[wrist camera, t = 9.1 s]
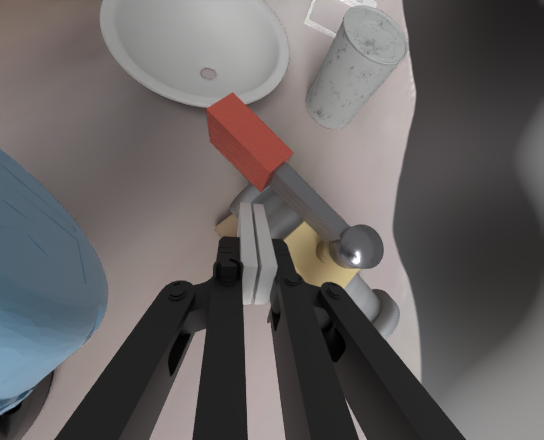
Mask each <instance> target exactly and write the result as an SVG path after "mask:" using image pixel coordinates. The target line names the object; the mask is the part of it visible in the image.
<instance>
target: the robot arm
mask: <svg viewBox="0 0 544 440" xmlns="http://www.w3.org/2000/svg"><path fill="white" fill-rule="evenodd" d="M253 294H254V304H268V303H269V299H270V302H271V308H270V311H269V315H268V319H267V323H269V322H270V321H271V329H272V337H273V344H274V352H275V360H276V368H277V376H278V383H279V391H280V399H281V407H282V414H283V422H284V430H285V438H286V440H359V438H358V435H357V432H356V429H355V426H354V423H353V421H352V418H351V415H350V412H349V409H348V406H347V403H346V400H347V402H348V404H349V406H350V408H351V410H352V412H353V414H354V416H355V417H356V419H357V421H358V423H359V425H360V427H361V429H362V431H363V433H364V434H365V436H366V438H367V440H466V439H465V438H464V437H463V435H462V434H461V433H460V432H459V430H458V429H457V428H456V427H455V425H454V424H453V423H452V422H451V420H450V419H449V418H448V417H447V416H446V414H445V413H444V412H443V411H442V409H441V408H440V407H439V406H438V404H437V403H436V402H435V401H434V400H433V399H432V397H431V396H430V395H429V394H428V392H427V391H426V390H425V388H424V387H423V386H422V385H421V383H420V382H419V381H418V380H417V378H416V377H415V376H414V375H413V374H412V372H411V371H410V370H409V369H408V367H407V366H406V365H405V364H404V362H403V361H402V360H401V359H400V358H399V356H398V355H397V354H396V353H395V351H394V350H393V349H392V348H391V346H390V345H389V344H388V343H387V341H386V340H385V339H384V338H383V337H382V335H381V334H380V333H379V332H378V330H377V329H376V328H375V327H374V325H373V324H372V323H371V322H370V320H369V319H368V318H367V317H366V316H365V314H364V313H363V312H362V311H361V309H360V308H359V307H358V306H357V304H356V303H355V302H354V301H353V300H352V298H351V297H350V296H349V295H348V293H347V292H346V291H345V290H344V289H343V288H342V287H341V286H340V285H338V284H336V283H333V282H325V283H323V284H322V285H321V287H319V286H315V285H312V284H309V283H306V282H305V281H304V279H303V278H302V276H300V275H299V274H298V273H296V270H295V267H294V264H293V261H292V258H291V256H290V252H289V249H288V246H287V244H286V243H285V241H284V240H283V239H272V238H271V236H270V232H269V227H268V223H267V219H266V214H265V210H264V206H263V204H253V209H252V210H251V203H242V202H240V211H239V221H238V230H237V237H229V236H223V237H222V238H221V240H220V241H219V246H218V253H217V260H216V262H215V264H214V266H213V276H212V278H211V279H209V280H208V281H206V282H204V283H201V284H197V285H192V284H191V283H190V282H187V281H175V282H172V283H170V284H168V285H166V286H165V287H164V288H163V289H162V290H161V292H160V293H159V294H158V296H157V297H156V299H155V300H154V301H153V303H152V304H151V306H150V307H149V308H148V310H147V311H146V312H145V314H144V315H143V317H142V318H141V319H140V321H139V322H138V324H137V325H136V326H135V328H134V329H133V331H132V332H131V333H130V335H129V336H128V338H127V339H126V340H125V342H124V343H123V345H122V346H121V347H120V349H119V350H118V352H117V353H116V354H115V356H114V357H113V359H112V360H111V361H110V363H109V364H108V365H107V367H106V368H105V370H104V371H103V372H102V374H101V375H100V377H99V378H98V379H97V381H96V382H95V384H94V385H93V386H92V388H91V389H90V391H89V392H88V393H87V395H86V396H85V398H84V399H83V400H82V402H81V403H80V405H79V406H78V407H77V409H76V410H75V411H74V413H73V414H72V416H71V417H70V418H69V420H68V421H67V423H66V424H65V425H64V427H63V428H62V430H61V431H60V432H59V434H58V435H57V437H56V438H55V439H54V440H149V438H150V436H151V434H152V431H153V429H154V427H155V424H156V422H157V420H158V417H159V415H160V413H161V410H162V408H163V406H164V403H165V401H166V399H167V396H168V394H169V392H170V389H171V387H172V385H173V382H174V380H175V378H176V375H177V373H178V371H179V368H180V366H181V364H182V362H183V359H184V357H185V355H186V352H187V350H188V348H189V345H190V343H191V341H192V338H193V336H194V334H195V332H197V331H200V330H203V329H206V328H207V329H206V337H205V345H204V353H203V361H202V368H201V376H200V384H199V392H198V400H197V408H196V415H195V423H194V431H193V439H192V440H248V434H247V405H246V376H245V347H244V318H243V305H251V301H252V295H253ZM107 303H108V285H107V280H106V276H105V272H104V270H103V267H102V264H101V262H100V260H99V258H98V256H97V254H96V252H95V250H94V248H93V247H92V245H91V243H90V242H89V240H88V239H87V237H86V236H85V234H84V233H83V231H82V230H81V229H80V227H79V226H78V224H77V223H76V222H75V221H74V219H73V218H72V217H71V216H70V214H69V213H68V212H67V211H66V210H65V209H64V207H63V206H62V205H61V204H60V203H59V202H58V201H57V200H56V199H55V198H54V196H53V195H52V194H51V193H50V192H49V191H48V190H47V189H46V188H45V187H44V186H43V185H42V184H40V183H39V182H38V181H37V180H36V179H35V178H34V177H33V176H32V175H31V174H30V173H29V172H27V171H26V170H25V169H24V168H23V167H22V166H21V165H19V164H18V163H17V162H16V161H15V160H13V159H12V158H11V157H10V156H8V155H7V154H6V153H5V152H3V151H2V150H1V149H0V440H21V438H22V437H23V436H24V435H25V433H26V432H27V431H28V429H29V428H30V427H31V425H32V424H33V422H34V421H35V419H36V417H37V415H38V414H39V412H40V410H41V408H42V406H43V404H44V401H45V399H46V396H47V393H48V390H49V387H50V382H51V377H52V371H53V370H54V369H55V368H56V367H57V366H59V365H60V364H61V363H62V362H63V361H64V360H66V359H67V358H68V357H69V356H70V355H72V354H73V353H74V352H75V351H76V350H78V349H79V348H80V347H81V346H82V345H83V344H84V343H85V342H86V341H87V340H88V339H89V338H90V337H91V335H92V334H93V333H94V332H95V331H96V329H97V328H98V327H99V325H100V323H101V321H102V319H103V317H104V315H105V312H106V309H107ZM345 399H346V400H345Z"/></svg>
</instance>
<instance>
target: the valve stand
mask: <svg viewBox="0 0 544 440" xmlns="http://www.w3.org/2000/svg"><path fill="white" fill-rule="evenodd" d="M240 202H242V203H251V210H252V209H253V204H263V206H264V210H265V214H266V219H267V223H268V227H269V232H270V236H271V238H272V239H283V240H284V241H285V243H286V244H287V246H288V249H289V252H290V256H291V258H292V261H293V264H294V267H295V270H296V273H298V274H299V275H300V276H302V278H303V279H304V281H305V282H306V283H309V284H312V285H315V286H319V287H321V285H322V284H323V283H325V282H333V283H336V284H338V285H340V286H341V287H342V288H343V289H344V290H345V291H346V292H347V293H348V295H349V296H350V297H351V298H352V300H353V301H354V302H355V303H356V304H357V306H358V307H359V308H360V309H361V311H362V312H363V313H364V314H365V316H366V317H367V318H368V319H369V320H370V322H371V323H372V324H373V325H374V327H375V328H376V329H377V330H378V332H379V333H380V334H381V335H382V337H383V338H384V339H385V340H386V339H387V338H388V337H389V336H390V335H391V334H392V333H393V331H394V330H395V328H396V327H397V324H398V321H399V316H400V312H399V308H398V305H397V304H396V303H395V301H394V300H393V299H392V298H391V297H390V296H389V295H388V294H387V293H386V292H385V291H383V290H379V289H372V290H371V289H370V287H369V286H368V285H367V284H366V283H365V282H364V281H363V279H362V278H361V277H360V276H359V275H358V274H357V272H358V271H359V270H360V269H346V268H342V267H340V266H338V265H337V264H336V263H335V262H334V261H333V260H332V258H331V256H330V253H329V245H328V244H327V243H326V242H325V241H324V240H323V239H322V238H321V237H320V236H319V235H318V234H317V233H316V232H315V231H314V230H313V229H312V228H311V227H310V226H309V225H308V224H307V223H306V222H305V221H304V220H303V219H302V218H301V217H300V216H299V215H298V214H297V213H296V212H295V211H294V210H293V209H292V208H291V207H290V206H289V205H288V204H287V203H286V202H285V201H284V200H283V199H282V198H281V197H280V196H279V195H278V194H277V193H276V192H275V191H274V190H273V189H272V188H271V187H270V186H268V187H267V188H265V189H264V190H263V191H262V192H260V191H259V190H258V189H257V188H256V187H255V186H254V185H253V184H252V183H250V184H249V185H248V186H247V187H246V188H245V189H244V190H243V191H242V192H241V193H240V194H239V195H238V196H237V197H236V198H235V200H234V201H233V202H232V204H231V206H230V208H229V210H230V211H231V212H232V213H233V214H231V215H230V216H229V217H228V218H226V219H225V220H224V221H222V222H221V223H220V224H218V225H217V226H216V227H215V228H214V229H215V231H216V232H217V233H218V234H219V235H220V236H221V238H222V237H223V236H229V237H237V230H238V221H239V211H240Z"/></svg>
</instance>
